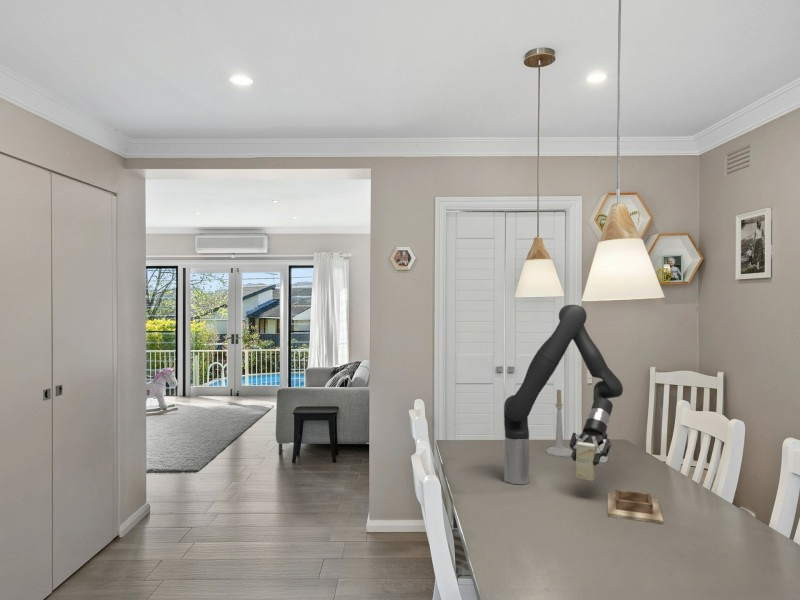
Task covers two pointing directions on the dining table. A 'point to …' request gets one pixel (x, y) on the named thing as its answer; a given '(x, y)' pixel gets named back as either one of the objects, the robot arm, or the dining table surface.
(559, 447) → the candlestick
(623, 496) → the carrier plate
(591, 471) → the skincare box
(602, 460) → the jar
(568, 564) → the dining table surface
